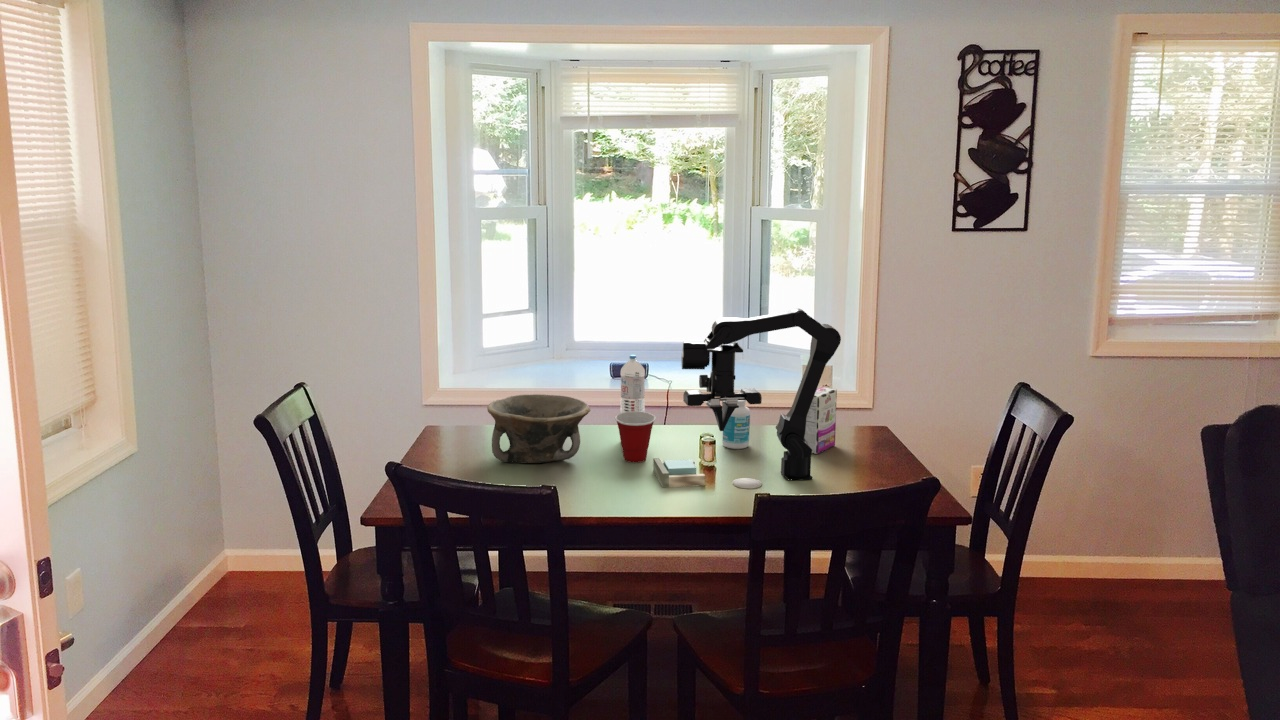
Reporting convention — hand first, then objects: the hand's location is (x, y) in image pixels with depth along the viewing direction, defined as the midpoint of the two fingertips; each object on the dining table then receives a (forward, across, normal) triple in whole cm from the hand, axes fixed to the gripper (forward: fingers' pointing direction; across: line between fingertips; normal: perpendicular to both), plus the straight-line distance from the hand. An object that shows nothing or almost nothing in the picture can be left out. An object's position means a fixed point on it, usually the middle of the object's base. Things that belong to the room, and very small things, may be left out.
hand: (721, 430), depth 243 cm
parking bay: (+12, +10, 0) cm, 16 cm away
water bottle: (+12, +17, -34) cm, 40 cm away
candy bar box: (+12, -33, -20) cm, 40 cm away
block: (+12, +10, 0) cm, 16 cm away
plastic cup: (+12, +19, -17) cm, 28 cm away
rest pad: (+12, -5, +7) cm, 15 cm away
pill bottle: (+12, -11, -26) cm, 31 cm away
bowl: (+12, +44, -22) cm, 51 cm away
